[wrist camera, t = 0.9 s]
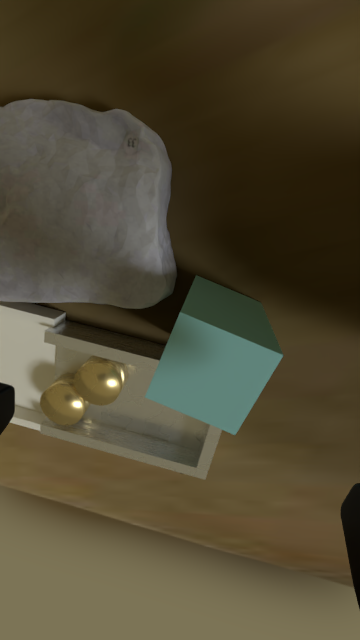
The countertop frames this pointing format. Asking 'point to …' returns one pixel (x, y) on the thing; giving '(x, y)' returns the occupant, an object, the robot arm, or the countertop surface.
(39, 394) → the chip tray
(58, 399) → the chip
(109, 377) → the chip
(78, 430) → the channel
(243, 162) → the countertop surface
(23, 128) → the stone block
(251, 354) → the mint green brick
